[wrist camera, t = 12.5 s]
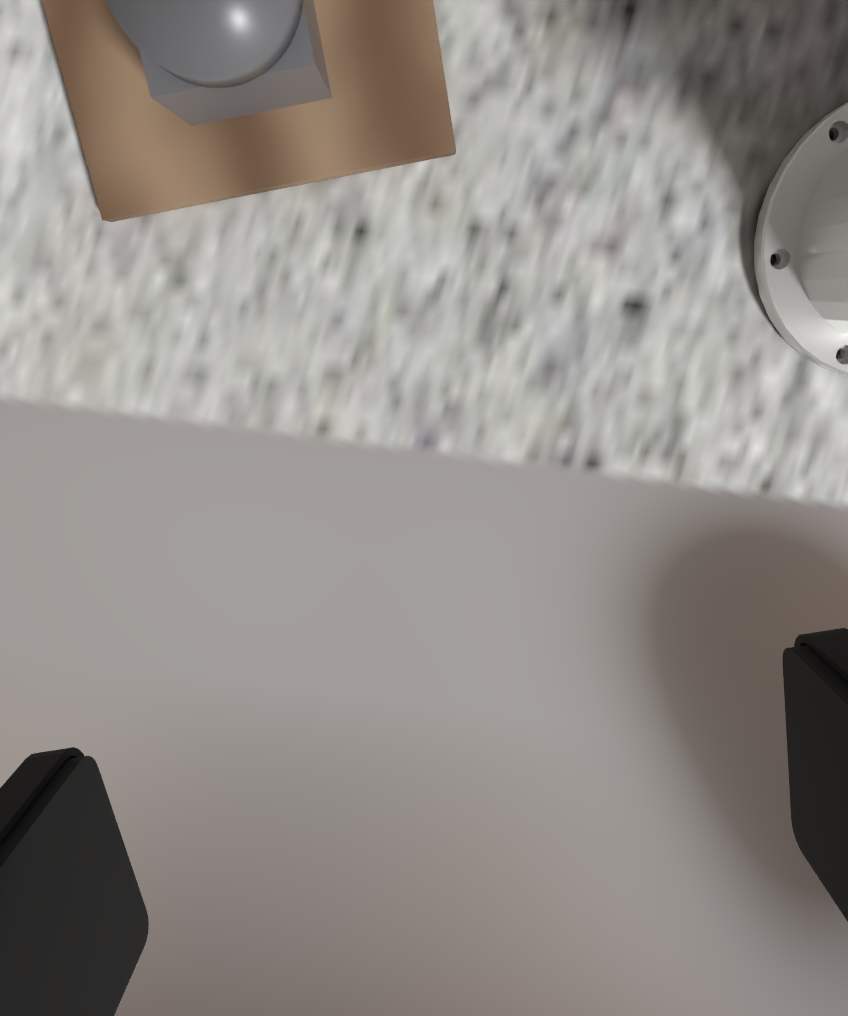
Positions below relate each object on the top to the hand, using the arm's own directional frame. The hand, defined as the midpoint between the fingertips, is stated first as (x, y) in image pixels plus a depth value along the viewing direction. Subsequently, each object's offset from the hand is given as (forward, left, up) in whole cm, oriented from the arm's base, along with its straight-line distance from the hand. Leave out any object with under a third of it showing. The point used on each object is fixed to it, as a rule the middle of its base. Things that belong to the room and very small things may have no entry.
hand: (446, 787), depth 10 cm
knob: (+5, -18, -27) cm, 33 cm away
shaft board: (+5, -18, -28) cm, 34 cm away
